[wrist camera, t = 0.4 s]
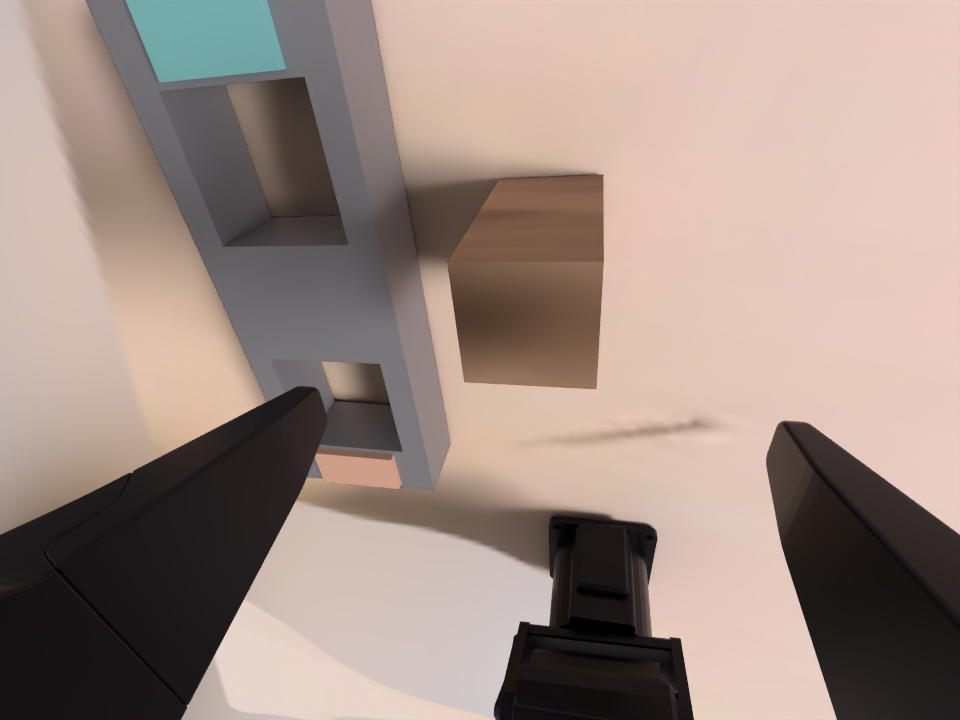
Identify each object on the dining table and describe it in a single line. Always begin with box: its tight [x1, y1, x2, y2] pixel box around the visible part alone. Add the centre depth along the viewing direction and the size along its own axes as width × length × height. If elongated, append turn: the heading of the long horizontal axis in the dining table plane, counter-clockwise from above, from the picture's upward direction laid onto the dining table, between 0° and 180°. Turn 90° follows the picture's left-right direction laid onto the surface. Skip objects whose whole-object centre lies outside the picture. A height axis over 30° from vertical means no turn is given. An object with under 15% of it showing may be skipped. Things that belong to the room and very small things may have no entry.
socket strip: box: [86, 0, 451, 490], centre depth 21 cm, size 22×8×4 cm, turn 5°
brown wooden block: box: [447, 175, 604, 389], centre depth 16 cm, size 4×4×8 cm
